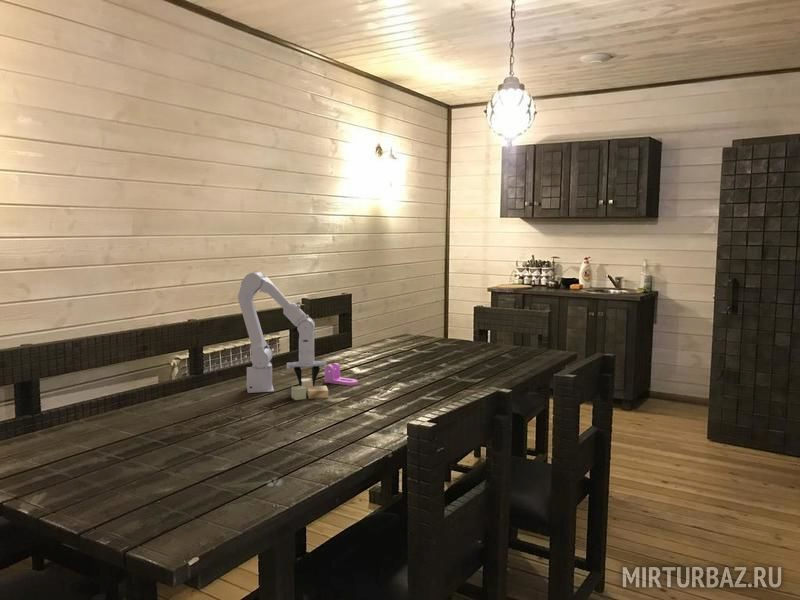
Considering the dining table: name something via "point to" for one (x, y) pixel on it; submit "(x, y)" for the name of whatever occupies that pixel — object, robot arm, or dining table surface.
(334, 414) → the dining table surface
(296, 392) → the sage cube
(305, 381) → the cream cube
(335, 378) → the bracket
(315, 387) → the oak slab
